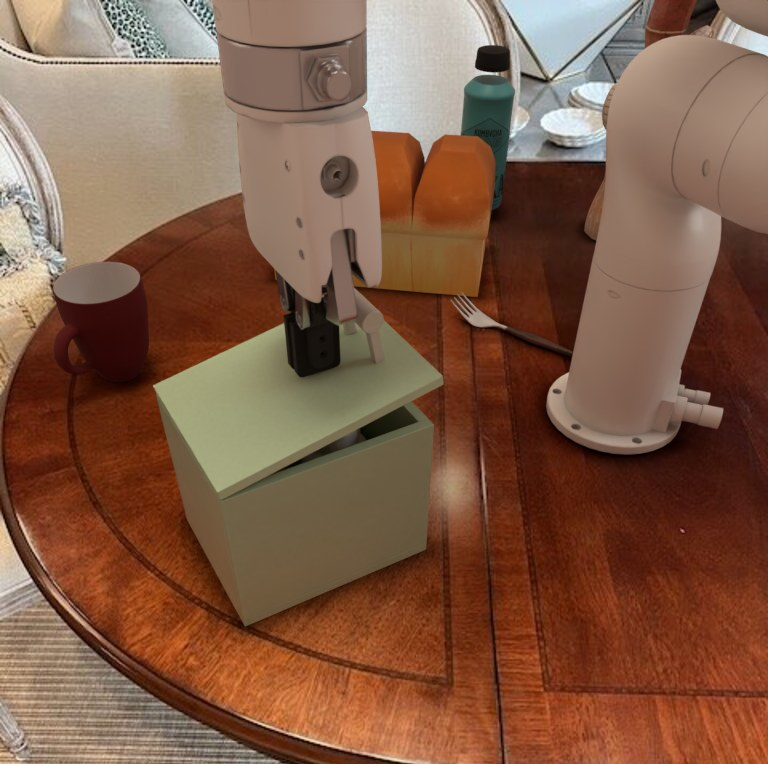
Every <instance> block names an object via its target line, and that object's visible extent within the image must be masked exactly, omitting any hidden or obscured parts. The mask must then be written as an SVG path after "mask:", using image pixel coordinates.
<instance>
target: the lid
mask: <svg viewBox="0 0 768 764" xmlns="http://www.w3.org/2000/svg"><path fill="white" fill-rule="evenodd" d="M354 293H355V300H356V308H357V320H355V321H352V322H349V323H345V324H342V325H339V335H340V364H339V365H338V366H337V367H335V368H332V369H328V370H325V371H322V372H319V373H316V374H312V375H309V376H306V377H299V376H298V375H297V374H296V372H295V369H292V368H291V366H290V365H289V364H288V358H287V347H286V337H285V326H284V322H283V323H281V324H279V325H276V326H274V327H273V328H270V329H268V330H267V331H265V332H262V333H260V334H258V335H256V336H253V337H251V338H250V339H247V340H245V341H243V342H241V343H238V344H237V345H235V346H233V347H231V348H229V349H226V350H225V351H222V352H220V353H218V354H216V355H214V356H212V357H209V358H208V359H205V360H203V361H201V362H199V363H197V364H195V365H192V366H191V367H189V368H187V369H185V370H182V371H180V372H178V373H176V374H174V375H172V376H170V377H168V378H165V379H163V380H161V381H160V382H157V383H155V384H153V385H152V388H153V389H154V392H155V393H156V395H158V397H159V398H160V400H161V402H162V404H163V405H164V407H165V409H166V410H167V412H168V414H169V415H170V417H171V419H172V420H173V422H174V424H175V425H176V427H177V429H178V430H179V432H180V434H181V435H182V437H183V439H184V440H185V442H186V444H187V445H188V447H189V449H190V450H191V452H192V454H193V455H194V457H195V459H196V460H197V462H198V464H199V465H200V467H201V469H202V470H203V472H204V474H205V475H206V477H207V479H208V480H209V482H210V484H211V485H212V487H213V489H214V490H215V492H216V494H217V495H218V497H219V499H220V500H223V499H224V498H226V497H228V496H230V495H232V494H234V493H236V492H238V491H240V490H242V489H244V488H246V487H247V486H249V485H251V484H253V483H255V482H257V481H259V480H261V479H263V478H265V477H267V476H269V475H271V474H272V473H274V472H276V471H278V470H280V469H282V468H284V467H286V466H288V465H290V464H292V463H294V462H296V461H297V460H299V459H301V458H303V457H305V456H307V455H309V454H311V453H313V452H315V451H317V450H319V449H321V448H322V447H324V446H326V445H328V444H330V443H332V442H334V441H336V440H338V439H340V438H342V437H344V436H346V435H347V434H349V433H351V432H353V431H355V430H357V429H359V428H361V427H363V426H365V425H367V424H369V423H371V422H372V421H374V420H376V419H378V418H380V417H382V416H384V415H386V414H388V413H390V412H392V411H394V410H395V409H397V408H399V407H401V406H403V405H405V404H407V403H409V402H411V401H412V402H413V401H414V400H417V399H419V398H420V397H423V396H424V395H426V394H428V393H430V392H432V391H434V390H436V389H438V388H440V387H441V386H443V385H444V383H445V382H444V377H443V375H442V373H441V372H439V371H438V370H437V369H436V368H435V367H434V366H433V365H432V364H431V363H430V362H429V361H428V360H427V359H426V358H424V357H423V356H422V355H421V354H420V352H418V351H417V350H416V349H415V348H414V347H413V346H412V345H411V343H409V342H408V341H407V340H406V339H405V338H404V337H402V335H400V334H399V333H398V332H397V331H396V330H395V329H394V328H393V327H392V326H391V325H390V324H389V323H387V321H386V320H385V319H384V315H383V313H382V312H381V311H380V310H379V309H378V308H376V306H374V304H372V303H371V302H370V301H369V300H368V299H367V298H366V297H365V296H364V295H363V294H362V293H361V292H360V291H358V289H356V287H354Z"/></svg>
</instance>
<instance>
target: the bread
mask: <svg viewBox="0 0 768 764" xmlns="http://www.w3.org/2000/svg"><path fill="white" fill-rule="evenodd" d="M371 132H372V138H373V145H374V153H375V159H376V169H377V178H378V191H379V205H380V223H381V249H382V275H381V281H380V284H379V285H378V286H377V287H375V288H374V289H379V290H381V289H382V290H391V291H403V292H413V293H414V292H415V293H425V294H427V293H428V294H437V295H450V296H458V295H459V296H460V297H461V296H462V297H464V296H463V295H462V294H461V292H463V294H464V295H465V296H466V297H471V298H472V297H473V298H478V296H479V291H480V290H479V289H480V284H481V276H482V270H483V263H484V257H485V250H486V241H487V238H488V237H489V236H488V235H489V228H490V222H491V215H492V210H491V209H492V203H493V196H494V189H495V171H496V161H495V158H494V155H493V152H492V150H491V147H490V146H489V145H488V144H487V143H485V142H484V141H483V140H482V139H480V138H479V137H477V136H461V135H460V134H459V135H458V134H447V133H446V134H443V135H442V136H441V137H439V138H438V139H436V140H435V141H434V142H433V143H432V145H431V146H430V147H431V148H430V150H429V152H428V155H427V157H426V158H425V155H424V151H423V148H422V145H421V141H419V140H418V139H417V138H415V136H413V135H412V134H411V133H410V132H399V131H384V130H371ZM425 159H426V160H425ZM273 271H274V280H276V281H277V278H276V271H275V269H274V268H273ZM352 278H353V285H354V288H356V287H358V288H368V287H367V286H366V285H365V284H363V283H362V282H361V281H360V280H359V279H358V278H356V277H355V276H354V275H353V274H352ZM369 288H370V287H369ZM369 288H368V289H369ZM370 289H371V288H370Z"/></svg>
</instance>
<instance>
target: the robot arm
mask: <svg viewBox="0 0 768 764" xmlns="http://www.w3.org/2000/svg"><path fill="white" fill-rule="evenodd" d="M715 2H716V4H717V7H718V8H719V10H720V11H721V12H722V14H723V15H724V16H726V17H727V18H728V19H729V20H730V21H731V22H733V23H734V24H736V25H737V26H740V27H742V28H743V29H746V30H747V31H750V32H753V33H756V34H758V35H762V36H764V37H767V38H768V0H715ZM211 3H212V8H213V18H214V26H215V33H216V41H217V49H218V56H219V65H220V73H221V80H222V81H221V82H222V88H223V96H224V97H223V98H224V103H225V106H226V107H227V108H228V109H229V110H231V112H233V113H235V115H236V135H237V136H236V137H237V152H238V153H237V154H238V165H239V175H240V176H239V177H240V186H241V196H242V204H243V210H244V216H245V222H246V227H247V233H248V236H249V238H250V241H251V242H252V244H253V246H254V247H255V249H256V250H257V251H258V252H259V254H260V255H261V256H262V258H264V259H265V260H266V262H267V263H268V264H269V265H270V266H271V267H272V268H273V270H274V269H275V271H276V278H277V280H276V285H277V290H278V291H277V292H278V298H279V302H280V306H281V308H282V310H283V312H284V313H287V314H283V323H284V326H285V337H286V347H287V358H288V364H289V365H290V366H291V368H292V369H295V372H296V374H297V375H298V376H299V377H306V376H309V375H312V374H316V373H319V372H322V371H325V370H328V369H332V368H335V367H337V366H338V365H339V364H340V335H339V325H342V324H345V323H349V322H352V321H355V320H357V308H356V300H355V293H354V288H355V286H354V285H353V278H352V274H353V275H354V276H355V277H356V278H358V279H359V280H360V281H361V282H362V283H363V284H365V285H366V286H367V287H368V289H369V287H370V289H376V288H375V287H377V286H378V285H379V284H380V281H381V275H382V249H381V223H380V205H379V191H378V178H377V169H376V159H375V153H374V145H373V138H372V132H371V131H372V127H371V123H370V117H369V112H368V111H367V109H366V108H365V107H364V106H365V105H366V103H367V102H368V31H367V30H368V29H367V26H368V25H367V24H368V23H367V21H368V19H367V16H368V14H367V13H368V12H367V0H211ZM617 82H618V83H617ZM617 82H616V83H617V85H616V88H615V90H614V93H613V96H612V99H611V103H610V106H609V111H608V118H607V127H606V130H605V172H606V176H605V175H604V176H605V191H604V200H603V207H602V214H601V220H600V225H599V230H598V236H597V240H595V241H596V242H595V246H594V250H593V255H592V260H591V264H590V269H589V274H588V279H587V284H586V288H585V294H584V299H583V303H582V308H581V313H580V317H579V322H578V328H577V333H576V337H575V341H574V346H573V351H572V352H573V356H571V361H570V366H569V369H568V370H569V371H568V372H566V373H565V374H563V375H561V376H559V377H558V378H557V379H556V380H554V382H553V383H552V384H551V386H550V387H549V390H548V392H547V396H546V403H545V404H546V405H545V408H546V413H547V416H548V418H549V421H550V422H551V423H552V424H553V425H554V427H555V428H556V429H557V430H558V431H559V432H560V433H562V434H563V435H564V436H565V437H567V439H570V440H571V441H573V442H574V443H576V444H578V445H580V446H583V447H586V448H588V449H591V450H595V451H597V452H601V453H606V454H607V453H608V454H613V455H627V456H628V455H629V456H630V455H638V454H639V455H640V454H645V453H650V452H653V451H657V450H658V449H661V448H664V447H665V446H666V445H667V444H670V443H671V442H672V441H673V440H674V439H675V437H676V436H677V434H678V432H679V430H680V428H681V425H682V422H687V423H691V424H696V425H697V426H700V427H706V428H709V429H715V430H718V429H719V428H720V424H721V421H722V419H723V414H724V407H720V406H714V405H709V402H710V398H711V392H707V391H705V390H704V391H703V390H698V389H696V390H694V389H690V388H685V387H686V385H685V384H680V383H681V376H682V369H681V368H682V365H683V363H684V360H685V356H686V354H687V350H688V347H689V344H690V341H691V338H692V335H693V333H694V330H695V329H694V328H695V326H696V322H697V319H698V316H699V313H700V311H701V307H702V304H703V302H704V298H705V296H706V292H707V289H708V286H709V283H710V279H711V278H712V275H713V272H714V269H715V266H716V263H717V260H718V256H719V252H720V246H721V237H722V218H724V219H725V220H728V221H730V222H732V223H734V224H736V225H738V226H740V227H742V228H745V229H748V230H750V231H752V232H756V233H758V234H759V233H760V234H765V235H768V55H767V54H764V53H760V52H757V51H754V50H751V49H749V48H746V47H742V46H739V45H736V44H733V43H729V42H727V41H723V40H720V39H718V38H714V37H713V38H709V37H705V36H697V35H690V34H686V35H679V36H673V37H668V38H665V39H662V40H659V41H657V42H655V43H653V44H651V45H650V46H648V47H647V48H645V47H644V49H643V50H641V51H640V52H639V53H638V54H637V55H636V56H635V57H634V58H633V59H631V61H629V64H628V65H627V66H626V67H625V69H624V70H623V72H622V73H621V75H620V77H619V79H618V81H617ZM367 287H366V288H367Z"/></svg>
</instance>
